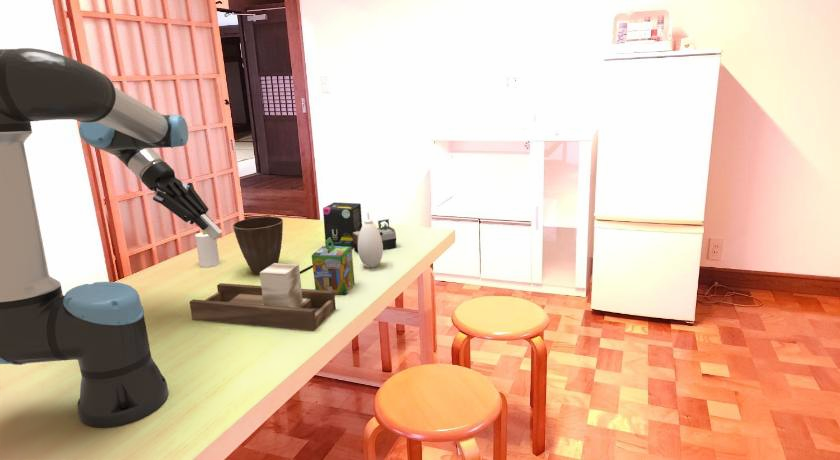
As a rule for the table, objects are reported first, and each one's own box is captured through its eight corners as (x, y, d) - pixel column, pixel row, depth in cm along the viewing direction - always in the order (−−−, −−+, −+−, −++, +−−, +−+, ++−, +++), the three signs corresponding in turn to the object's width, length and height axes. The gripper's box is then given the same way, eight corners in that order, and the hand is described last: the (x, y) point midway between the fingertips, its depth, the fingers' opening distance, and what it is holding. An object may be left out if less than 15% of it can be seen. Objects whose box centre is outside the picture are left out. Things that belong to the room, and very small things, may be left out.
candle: (224, 261, 186) (218, 218, 182) (212, 268, 180) (205, 223, 176) (208, 260, 187) (201, 217, 183) (195, 267, 181) (188, 223, 177)
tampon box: (325, 248, 196) (321, 207, 192) (336, 240, 204) (333, 202, 200) (353, 249, 193) (350, 208, 189) (363, 241, 201) (361, 202, 197)
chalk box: (345, 295, 153) (341, 244, 149) (314, 294, 154) (309, 243, 150) (355, 283, 161) (352, 234, 157) (326, 282, 163) (321, 234, 159)
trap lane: (313, 330, 132) (311, 311, 130) (192, 319, 141) (189, 301, 139) (335, 308, 144) (334, 291, 142) (222, 299, 153) (220, 283, 151)
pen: (283, 282, 165) (283, 278, 165) (321, 262, 182) (321, 259, 181) (285, 282, 165) (285, 279, 165) (323, 262, 181) (323, 259, 181)
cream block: (289, 312, 135) (285, 274, 133) (264, 310, 137) (259, 272, 135) (302, 301, 142) (298, 264, 139) (278, 299, 144) (274, 263, 141)
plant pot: (230, 278, 170) (222, 228, 165) (255, 262, 184) (249, 215, 179) (274, 280, 166) (268, 229, 162) (296, 264, 180) (291, 216, 176)
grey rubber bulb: (387, 268, 172) (383, 212, 167) (363, 272, 170) (359, 216, 165) (379, 261, 179) (376, 207, 174) (356, 265, 177) (352, 210, 172)
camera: (358, 256, 186) (356, 227, 183) (352, 250, 192) (350, 222, 189) (400, 249, 191) (398, 221, 189) (392, 243, 198) (390, 216, 195)
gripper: (163, 176, 147) (225, 238, 147) (126, 185, 135) (194, 253, 135) (177, 156, 144) (240, 220, 144) (140, 164, 132) (209, 233, 132)
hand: (218, 236), depth 140 cm, fingers closed
